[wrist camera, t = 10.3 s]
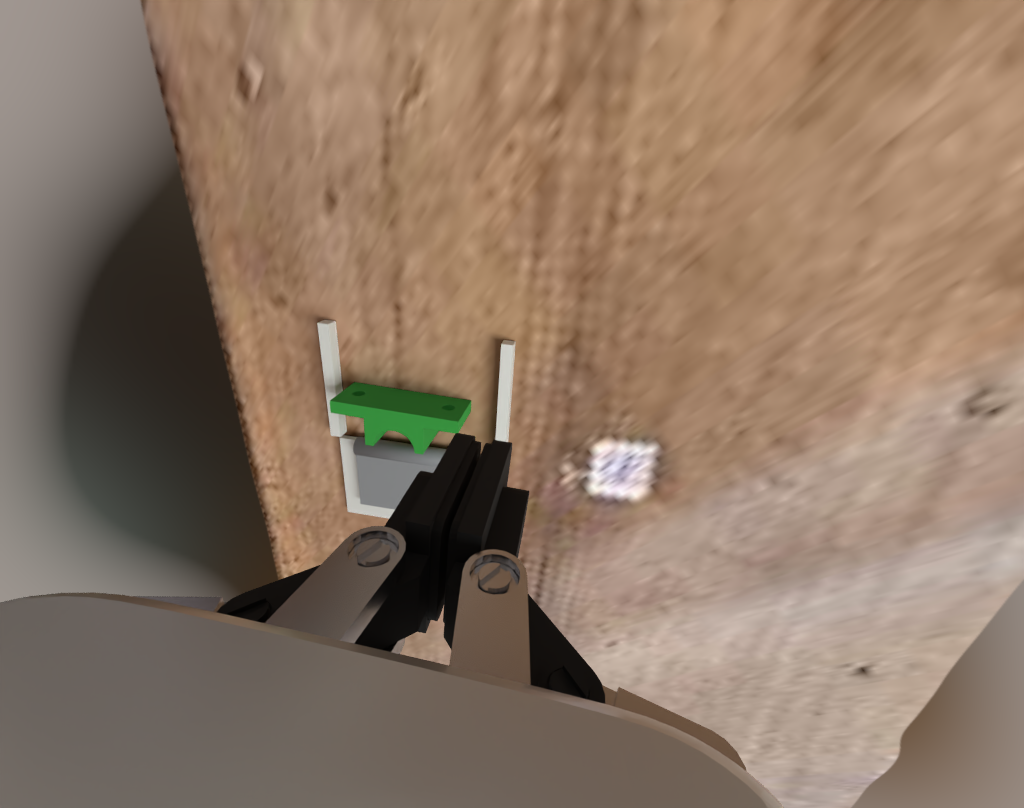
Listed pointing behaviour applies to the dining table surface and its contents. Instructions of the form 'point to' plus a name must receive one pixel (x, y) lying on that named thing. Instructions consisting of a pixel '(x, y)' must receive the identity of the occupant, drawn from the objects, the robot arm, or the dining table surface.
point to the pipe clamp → (401, 413)
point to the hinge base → (391, 465)
